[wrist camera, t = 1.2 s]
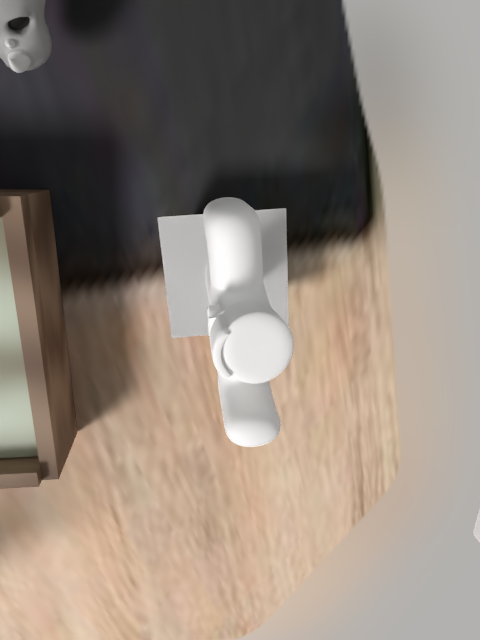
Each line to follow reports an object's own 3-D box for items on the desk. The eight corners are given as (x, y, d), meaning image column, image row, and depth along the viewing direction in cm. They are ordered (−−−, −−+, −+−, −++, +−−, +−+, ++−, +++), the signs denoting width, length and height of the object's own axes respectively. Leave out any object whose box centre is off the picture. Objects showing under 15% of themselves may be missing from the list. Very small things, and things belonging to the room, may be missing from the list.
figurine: (273, 184, 29) (354, 209, 15) (278, 323, 32) (348, 452, 18) (158, 192, 28) (131, 226, 14) (175, 333, 32) (165, 473, 18)
